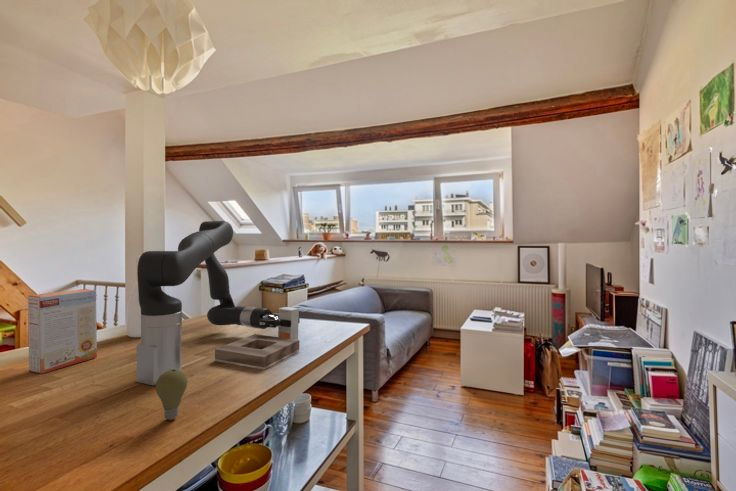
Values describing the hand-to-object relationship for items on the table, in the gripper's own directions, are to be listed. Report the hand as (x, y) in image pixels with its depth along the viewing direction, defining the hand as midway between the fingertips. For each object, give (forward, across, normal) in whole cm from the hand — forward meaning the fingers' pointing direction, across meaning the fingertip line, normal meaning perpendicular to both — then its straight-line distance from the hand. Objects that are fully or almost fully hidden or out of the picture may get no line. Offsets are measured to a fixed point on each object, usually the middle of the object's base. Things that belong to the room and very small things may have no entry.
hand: (294, 322), depth 122 cm
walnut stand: (-3, -16, +8) cm, 18 cm away
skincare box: (-3, 0, +7) cm, 8 cm away
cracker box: (-49, -44, +8) cm, 66 cm away
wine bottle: (-59, -14, +8) cm, 61 cm away
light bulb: (+6, -54, +8) cm, 55 cm away
